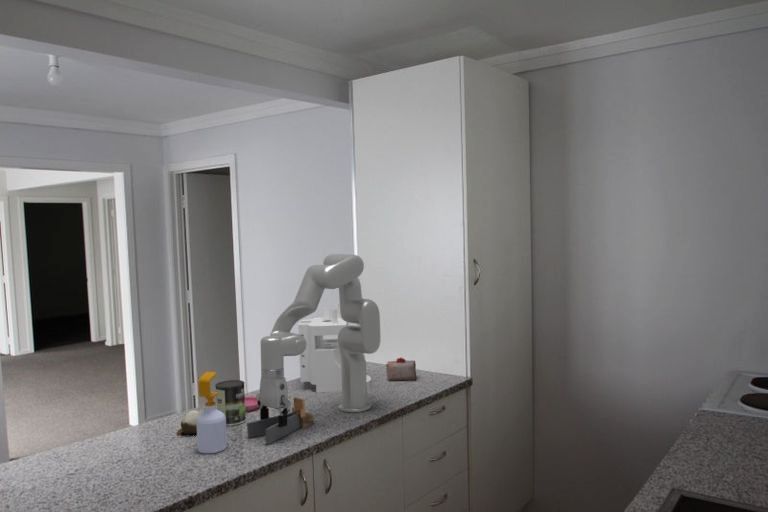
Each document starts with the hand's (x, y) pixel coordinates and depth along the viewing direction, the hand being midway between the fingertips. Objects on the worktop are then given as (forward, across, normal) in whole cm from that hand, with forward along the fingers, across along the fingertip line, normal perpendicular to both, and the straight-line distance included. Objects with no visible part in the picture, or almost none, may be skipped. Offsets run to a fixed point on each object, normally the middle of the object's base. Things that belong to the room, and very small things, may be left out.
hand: (273, 423), depth 203 cm
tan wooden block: (0, 0, -11) cm, 11 cm away
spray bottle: (+5, +7, +19) cm, 21 cm away
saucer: (+4, +34, -14) cm, 37 cm away
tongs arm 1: (+4, +3, -2) cm, 5 cm away
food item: (+3, +11, -82) cm, 82 cm away
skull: (+5, +26, +14) cm, 30 cm away
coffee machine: (+3, +29, -59) cm, 65 cm away
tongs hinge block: (+4, 0, -14) cm, 14 cm away
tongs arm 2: (+4, -3, -2) cm, 5 cm away
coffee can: (+4, +25, -1) cm, 25 cm away
